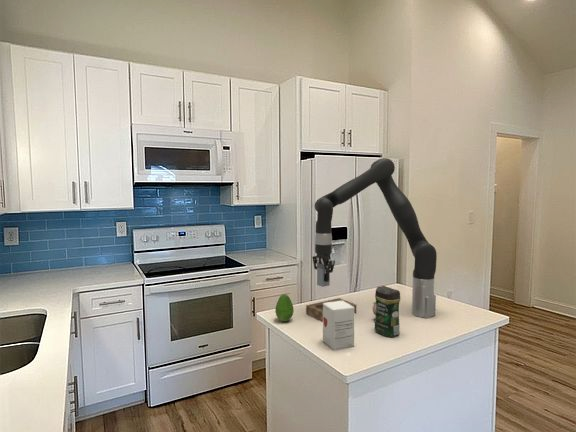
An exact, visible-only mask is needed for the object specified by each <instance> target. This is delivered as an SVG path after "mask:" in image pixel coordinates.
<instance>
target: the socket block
mask: <svg viewBox="0 0 576 432" xmlns="http://www.w3.org/2000/svg"><path fill="white" fill-rule="evenodd" d="M342 300H343V301H344V302H346V303H348V304H350V305H351V306H353V307H354V308H355V310H354V315H355V314H357V304H356V303H353V302H352V301H351V302H350V301H348V300H345V299H343V298H334V299H333V298H332V299H330V300H325V301H320V302H315V303H311V304H307V305H305V307H306V308H305V313H306V315H307V316H310V317H312V318H314V319H316V320H317V321H320V322H322V323H323V303H326V302H335V301H342Z"/></svg>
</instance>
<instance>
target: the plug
mask: <svg viewBox="0 0 576 432" xmlns="http://www.w3.org/2000/svg"><path fill="white" fill-rule="evenodd" d="M316 266H317V270H316V285H317V286H318V287H323V288H325V287H328V286H330V283H331V282H330V279H331V277H330V276H331V273H329V281H328V282H325V281H324V274H325V273H324V268H323V264H321V263H317V264H316ZM325 266H328V265H325ZM326 271H327V268H326Z"/></svg>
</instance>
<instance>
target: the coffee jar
mask: <svg viewBox="0 0 576 432" xmlns="http://www.w3.org/2000/svg"><path fill="white" fill-rule="evenodd" d="M374 297H375V301H376V316H375V317H374V319H375V321H374V330H375V332H377V333H378V334H380V335H383V336H385V337H387V338H388V337H391V338H392V337H393V338H394V337H397V336H398V335H399V334H400V332H401V331H400V329H401V328H400V310H399V309H400V302H401V292H400V290H398V289H395V288H392V287H388V286H386V285H381V286H377V287H376V288H375V294H374Z"/></svg>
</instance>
